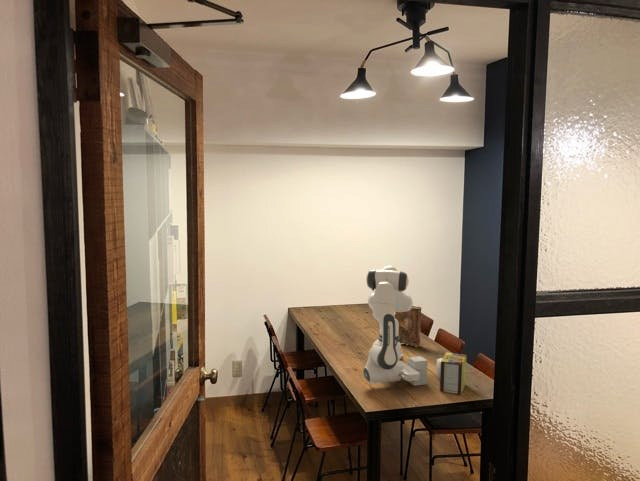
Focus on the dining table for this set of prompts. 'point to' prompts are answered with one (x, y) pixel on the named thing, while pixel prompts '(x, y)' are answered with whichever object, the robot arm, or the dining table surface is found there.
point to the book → (409, 326)
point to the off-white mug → (438, 367)
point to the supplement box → (418, 369)
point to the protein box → (453, 373)
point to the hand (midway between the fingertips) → (418, 369)
